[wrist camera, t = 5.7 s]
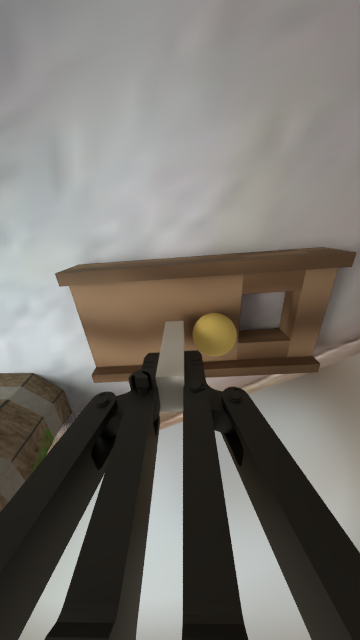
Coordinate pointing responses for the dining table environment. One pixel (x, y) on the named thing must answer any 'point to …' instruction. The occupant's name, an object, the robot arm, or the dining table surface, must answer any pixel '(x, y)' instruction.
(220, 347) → the ball
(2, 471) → the mug
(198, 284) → the lane board
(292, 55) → the dining table surface
